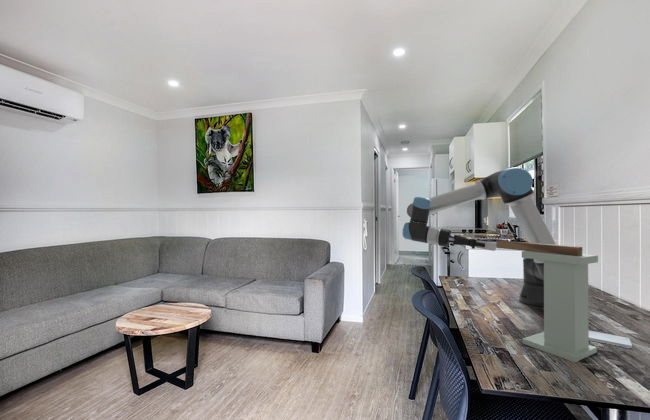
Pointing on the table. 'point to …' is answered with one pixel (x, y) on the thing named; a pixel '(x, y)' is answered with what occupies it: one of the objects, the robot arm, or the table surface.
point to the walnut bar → (540, 247)
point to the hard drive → (610, 339)
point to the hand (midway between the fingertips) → (495, 247)
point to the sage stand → (564, 306)
